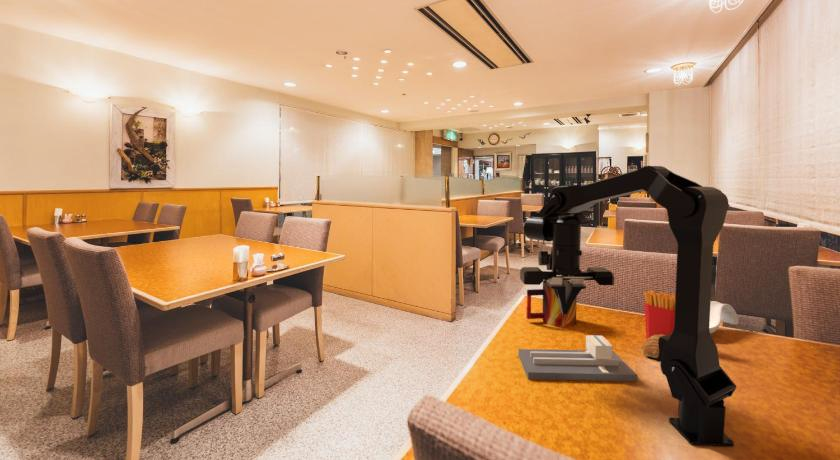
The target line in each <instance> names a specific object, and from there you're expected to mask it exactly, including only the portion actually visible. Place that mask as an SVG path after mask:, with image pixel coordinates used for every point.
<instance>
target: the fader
mask: <svg viewBox="0 0 840 460" xmlns="http://www.w3.org/2000/svg"><path fill="white" fill-rule="evenodd" d="M613 347H614V346H613V345H612V344H611V343H610V342H609V341H608V340H607V339H606V338H605V337H604V336H603V335H596V334H593V335H592V334H591V335H585V349H586V350H588V351H589V352H590V354H591V355H592V356H593V358H595V359H607V360H612V353H613V351H614V350H613V349H614V348H613Z"/></svg>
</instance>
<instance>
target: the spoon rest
mask: <svg viewBox="0 0 840 460" xmlns="http://www.w3.org/2000/svg"><path fill="white" fill-rule="evenodd" d="M722 322H723V323H727V324H730V325H734V326H735V325H737V326H738V325H739V318H738V314H737V312H736V310H735V309H734V307H733V306H732V305H731V304H729V303H722V302H719V301H718V300H717V301H716V300H712V301H711V302H710V322H709V331H710V334H713V333H715V332H716V331H717V330H718V329H719V327H720V326H721V323H722Z"/></svg>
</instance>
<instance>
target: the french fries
mask: <svg viewBox="0 0 840 460" xmlns="http://www.w3.org/2000/svg"><path fill="white" fill-rule="evenodd" d="M643 295H644V300H645V302H643V303H644V304H643V305H644V318H645V321H644V322H645V338H646V339H645V340H647V339H648V338H650V337H651V336H654V335H668V334H671V333H672V331H673V329H674V315H675V294H674V293H671V294H670V293H667V292H666V293H665V292H661V291H660V292H656V291H655V290H650V291H648V290H646V291H643Z"/></svg>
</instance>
